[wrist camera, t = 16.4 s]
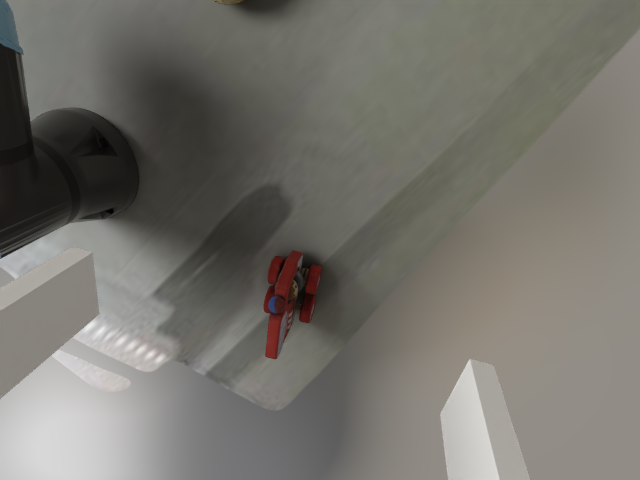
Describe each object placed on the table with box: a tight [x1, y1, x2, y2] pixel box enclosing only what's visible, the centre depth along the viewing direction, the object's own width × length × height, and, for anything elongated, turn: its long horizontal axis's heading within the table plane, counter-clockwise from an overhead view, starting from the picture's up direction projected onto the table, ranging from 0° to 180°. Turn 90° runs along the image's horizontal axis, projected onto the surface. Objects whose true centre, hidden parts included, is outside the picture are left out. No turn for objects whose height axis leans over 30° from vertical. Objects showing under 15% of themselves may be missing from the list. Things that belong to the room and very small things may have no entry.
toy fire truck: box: [264, 250, 322, 359], centre depth 49 cm, size 7×12×10 cm, turn 171°
